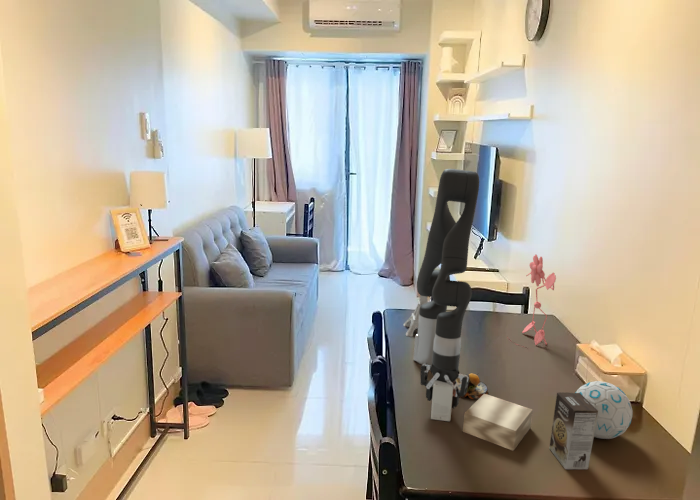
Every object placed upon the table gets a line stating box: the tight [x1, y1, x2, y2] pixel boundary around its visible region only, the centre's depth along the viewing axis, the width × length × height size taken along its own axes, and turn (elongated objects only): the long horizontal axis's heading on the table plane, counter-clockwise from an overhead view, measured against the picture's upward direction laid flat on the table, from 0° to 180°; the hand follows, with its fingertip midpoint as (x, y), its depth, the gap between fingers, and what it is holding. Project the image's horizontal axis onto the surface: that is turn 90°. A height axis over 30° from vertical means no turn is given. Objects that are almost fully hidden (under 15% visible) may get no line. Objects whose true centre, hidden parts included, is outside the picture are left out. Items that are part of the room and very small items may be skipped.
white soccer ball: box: [574, 380, 634, 440], centre depth 145 cm, size 15×15×15 cm
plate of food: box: [456, 372, 489, 400], centre depth 168 cm, size 12×12×8 cm
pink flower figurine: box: [507, 254, 557, 349], centre depth 210 cm, size 15×26×35 cm, turn 2°
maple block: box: [462, 394, 533, 452], centre depth 146 cm, size 14×14×6 cm
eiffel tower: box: [403, 294, 429, 337], centre depth 214 cm, size 13×13×30 cm
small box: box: [430, 380, 453, 422], centre depth 152 cm, size 8×6×10 cm
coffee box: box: [549, 391, 598, 470], centre depth 133 cm, size 9×6×16 cm
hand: (441, 403), depth 153 cm, fingers closed on small box, 6 cm apart
